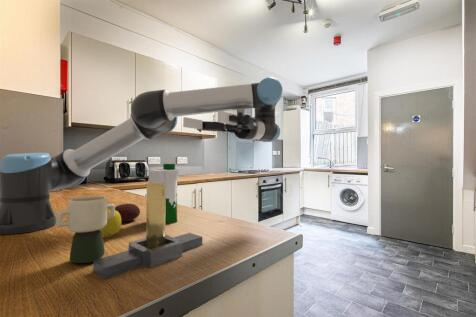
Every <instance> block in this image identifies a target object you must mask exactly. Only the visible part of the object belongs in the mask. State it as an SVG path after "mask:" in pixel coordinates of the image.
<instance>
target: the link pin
mask: <svg viewBox="0 0 476 317" xmlns="http://www.w3.org/2000/svg"><path fill="white" fill-rule="evenodd" d="M165 212H166V183H149V182H148V183H147V182H146V212H145V213H146V216H145V217H146V218H145V219H146V221H145V222H146V223H145V224H146V226H145V229H146V230H145V238H146V248H148V249H154V248H157V247H160V246H163V245H165V235H166V224H165Z"/></svg>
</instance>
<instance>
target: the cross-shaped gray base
mask: <svg viewBox="0 0 476 317" xmlns="http://www.w3.org/2000/svg"><path fill="white" fill-rule="evenodd" d="M200 246H203V236H201V235H198V234H195V233H191V232H187V233H184V234H180V235H177V236H174V237H173V236H170V235H167V234H165V245H163V246H160V247H157V248H154V249H148V248H146V237H144V238H141V239H137V240H133V241H129V242H128V250H126V251H122V252H119V253H115V254H111V255H109V256H105V257H101V258H99V259H97V260H94V261H92V262H93V266H92V268H93V272H94V273H95V274H96V275H97V276H98V277H100V278H102V279H103V280H107V279H110V278H112V277H115V276H118V275H121V274H123V273H126V272H129V271H132V270H134V269H135V270H136V269H138V268H141V267H143V268H145V267H148V268H154V267H157V266H159V265H162V264H165V263H167V262H170V261H172V260H175V259H178V258H181V257H183V252H186V251H188V250H191V249H194V248H197V247H200Z"/></svg>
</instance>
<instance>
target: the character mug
mask: <svg viewBox="0 0 476 317" xmlns="http://www.w3.org/2000/svg"><path fill="white" fill-rule="evenodd" d="M115 207H116V205H115V203H108V197H107V196H104V195H102V196H101V195H100V196H96V195H95V196H93V195H92V196H90V195H89V196H79V197H73V198H70V199H67V209H59V210H57V211H56V214H55V216H56V224H55V226H56V227H57V228H63V227H67V229H68V231H70V232H71V233H74V235H73V236H72V238H71V245H70V251H69V261H70V262H72V263H78V264H79V263H80V264H81V263H83V264H84V263H91V262H93V261H94V260H97V259H101V258H103V256H104V255H105V244H104V237H103V234H102V233H101V231H100V230H99V229H101V228H104V227H105V226H106V224H107V219H111V218H113V217H114V216H115ZM109 208H110V214H109V215H107V210H108V209H109ZM64 215H67V220H66V221H63V216H64Z"/></svg>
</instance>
